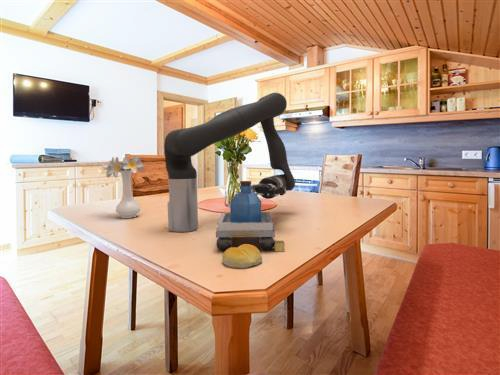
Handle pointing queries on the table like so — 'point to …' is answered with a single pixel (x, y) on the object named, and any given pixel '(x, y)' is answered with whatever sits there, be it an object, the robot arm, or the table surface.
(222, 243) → the trolley
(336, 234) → the table surface
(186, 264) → the table surface
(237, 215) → the perfume bottle
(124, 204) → the flower vase
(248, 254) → the bread roll
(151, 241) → the table surface
